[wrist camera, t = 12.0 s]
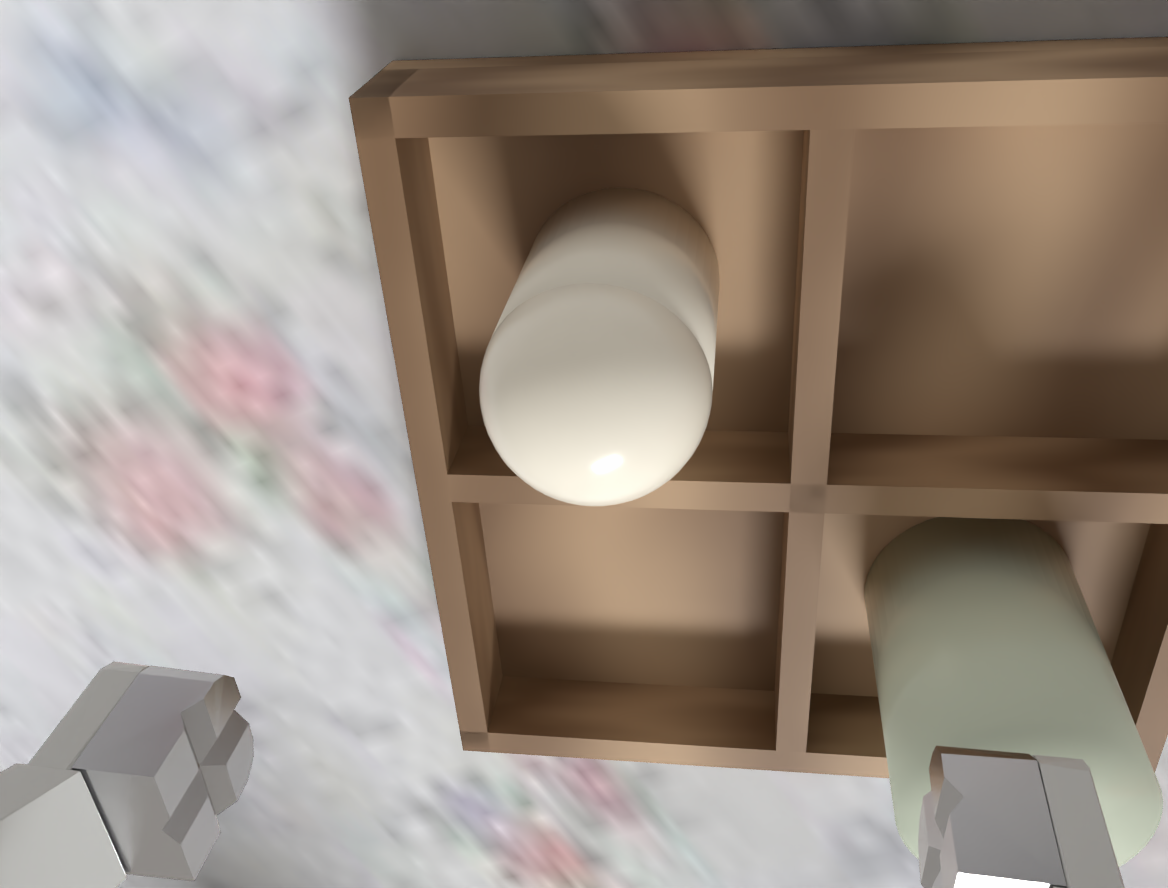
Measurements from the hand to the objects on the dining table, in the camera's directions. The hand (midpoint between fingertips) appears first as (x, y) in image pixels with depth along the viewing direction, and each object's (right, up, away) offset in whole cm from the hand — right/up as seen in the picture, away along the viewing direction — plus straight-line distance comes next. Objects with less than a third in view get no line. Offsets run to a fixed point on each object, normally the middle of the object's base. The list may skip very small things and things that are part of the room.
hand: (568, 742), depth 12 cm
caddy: (+6, +4, +14) cm, 16 cm away
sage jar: (+10, 0, +15) cm, 18 cm away
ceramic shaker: (+1, +7, +12) cm, 14 cm away
